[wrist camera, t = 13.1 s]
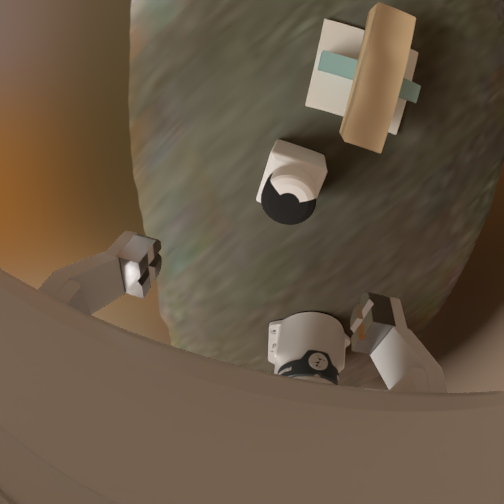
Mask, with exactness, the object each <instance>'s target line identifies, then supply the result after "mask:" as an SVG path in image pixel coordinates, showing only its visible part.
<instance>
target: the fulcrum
mask: <svg viewBox="0 0 504 504" xmlns="http://www.w3.org/2000/svg"><path fill="white" fill-rule="evenodd" d="M364 31H365V30H362V29H359V28H356V27H352V26H349V25H346V24H342V23H339V22H335V21H332V20H328V19H324V23H323V28H322V33H321V37H320V42H319V46H318V51H317V56H316V60H315V64H314V69H313V73H312V78H311V82H310V87H309V91H308V95H307V100H306V104H305V106H308V107H312V108H316V109H320V110H323V111H327V112H330V113H334V114H337V115H340V116H344V114H345V110H346V106H347V102H348V98H349V95H350V91H351V87H352V83H353V79H354V75H355V71H356V66H357V62H358V58H359V54H360V49H361V45H362V40H363V36H364ZM418 53H419V52H417V51H414V50H412V49H410V52H409V56H408V61H407V65H406V69H405V73H404V77H403V81H402V85H401V89H400V92H399V96H398V100H397V103H396V107H395V110H394V114H393V117H392V120H391V124H390V127H389V130H388V132H390V133H392V134H395V135H396V134H397V131H398V128H399V124H400V121H401V118H402V115H403V111H404V108H405V104H406V101H410V102H414V103H416V102H417V99H418V95H419V92H420V88H421V86H420V85H418V84H416V83H414V82H412V78H413V74H414V70H415V66H416V62H417V57H418Z"/></svg>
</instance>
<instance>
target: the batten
mask: <svg viewBox="0 0 504 504" xmlns="http://www.w3.org/2000/svg"><path fill="white" fill-rule="evenodd" d="M415 22H416V17H414V16H412V15H409V14H407V13H405V12H403V11H400V10H398V9H395V8H393V7H391V6H388V5H385V4H383V3H380V2H378V3H377V4H376V5H375V6H374V7H373V8H372V9H371V10H370V11H369V12H368V17H367V22H366V27H365V31H364V36H363V40H362V45H361V49H360V54H359V58H358V62H357V66H356V71H355V75H354V79H353V83H352V87H351V91H350V95H349V98H348V102H347V106H346V110H345V114H344V117H343V121H342V125H341V128H340V132H339V133H340V134H341V136H342V138H343V140H344V142H347V143H350V144H354V145H357V146H360V147H363V148H366V149H369V150H371V151H374V152H377V153H380V154H381V152H382V149H383V146H384V142H385V139H386V136H387V133H388V130H389V127H390V124H391V120H392V117H393V114H394V110H395V107H396V103H397V100H398V96H399V92H400V89H401V85H402V81H403V77H404V73H405V69H406V65H407V61H408V56H409V52H410V47H411V42H412V38H413V33H414V27H415Z"/></svg>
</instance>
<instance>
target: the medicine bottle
mask: <svg viewBox="0 0 504 504" xmlns="http://www.w3.org/2000/svg"><path fill="white" fill-rule="evenodd" d="M327 172H328V170H327V165H326V160H325V156H324V155H323V154H321V153H318V152H315V151H312V150H310V149H307V148H304V147H301V146H298V145H295V144H292V143H289V142H286V141H283V140H280V139H277V140H276V142H275V144H274V146H273V148H272V150H271V153H270V156H269V159H268V162H267V165H266V169H265V172H264V175H263V178H262V182H261V185H260V188H259V191H258V195H257V198H256V200H257V201H258V202H260V203H262V207H263V209H264V211H265V212H266V214H267V215H268V216H269V217H270V218H271V219H273V220H274V221H276V222H279V223H282V224H286V225H293V224H298V223H301V222H303V221H305V220H306V219H308V218H309V217H310V216H311V215H312V213H313V211H314V209H315V206H316V199H317V196H318V194H319V192H320V189H321V187H322V184H323V182H324V180H325V177H326V175H327Z"/></svg>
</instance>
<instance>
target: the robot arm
mask: <svg viewBox="0 0 504 504" xmlns="http://www.w3.org/2000/svg"><path fill="white" fill-rule="evenodd" d="M160 249H161V242H160V241H159V240H158V239H154V238H151V237H147V236H144V235H141V234H136V233H133V232H130V231H126V232H124V233H123V234H122V235H121V236H120V237H119V238H118V239H117V240H116V241H115V242H114V243H113V244H112V245H111V247H110V248H109V249H108V250H107V251H106V252H105V253H103V252H101V253H98V254H96V255H93V256H90V257H88V258H85V259H83V260H80V261H78V262H75V263H73V264H70V265H68V266H65V267H63V268H61V269H58V270H56V271H54V272H53V273H52V274H51V276H49V277H48V279H47V280H46V281H45V282H44V283H43V284H42V286H41V287H40V288H39V289H36V288H34V287H32V286H30V285H29V284H27V283H25V282H23V281H21V280H20V279H18V278H16V277H14V276H13V275H11V274H9V273H7V272H6V271H4V270H3V269H1V268H0V504H504V392H503V391H489V392H469V393H447V390H446V385H445V381H444V375H443V371H442V368H441V367H440V366H439V364H438V363H437V362H436V360H435V359H434V358H433V357H432V355H431V354H430V353H429V352H428V350H427V349H426V348H425V347H424V346H423V344H422V343H421V342H420V341H419V339H418V338H417V337H416V336H415V335H414V333H413V332H412V331H411V330H410V329H407V325H406V321H405V317H404V313H403V309H402V306H401V302H400V300H399V299H398V298H394V297H389V296H383V295H379V294H374V293H370V292H365V293H364V294H363V295H362V297H361V298H360V299H361V304H359V305H357V306H356V307H355V309H354V310H353V312H352V315H351V320H350V329H351V330H352V331H353V333H354V334H353V335H352V337H351V339H350V337H349V336H347V335H346V334H345V332H344V329H343V326H342V325H341V323H340V322H339V321H338V320H337V319H335V318H334V317H332V316H330V315H327V314H323V313H318V312H303V313H298V314H295V315H292V316H290V317H288V318H286V319H284V320H279V321H273V322H271V323H270V324H269V343H268V361H270V362H271V363H273V364H275V370H274V374H273V373H268V372H263V371H259V370H255V369H251V368H246V367H242V366H238V365H234V364H231V363H227V362H223V361H219V360H216V359H212V358H209V357H205V356H202V355H198V354H195V353H192V352H189V351H185V350H182V349H179V348H176V347H173V346H170V345H167V344H164V343H161V342H158V341H155V340H152V339H150V338H147V337H144V336H141V335H139V334H136V333H133V332H131V331H128V330H126V329H123V328H120V327H118V326H115V325H113V324H111V323H108V322H106V321H103V320H101V319H98V318H96V317H94V316H92V315H91V314H93V313H94V312H96V311H98V310H99V309H101V308H103V307H104V306H106V305H108V304H109V303H111V302H112V301H114V300H116V299H117V298H119V297H121V296H122V295H124V294H125V293H128V294H131V295H134V296H138V297H140V298H144V297H145V295H146V294H147V292H148V291H149V289H150V288H151V284H150V282H151V281H154V280H156V278H157V276H158V275H159V272H160V269H161V263H162V260H161V256H160V255H159V253H158V252H159V251H160ZM350 342H351V347H352V351H355V352H360V353H365V354H371V355H370V356H371V358H372V360H373V362H374V363H375V365H376V367H377V369H378V371H379V372H380V374H381V376H382V378H383V379H384V382H385V383H386V385H387V387H388V389H389V391H387V390H377V389H367V388H358V387H349V386H342V385H339V372H340V371H341V370H343V369H344V363H345V348H346V347H347V346H349V345H350Z"/></svg>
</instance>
